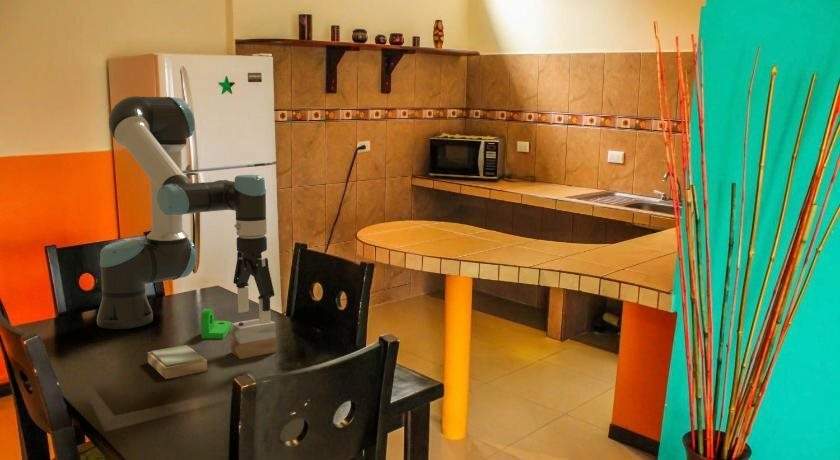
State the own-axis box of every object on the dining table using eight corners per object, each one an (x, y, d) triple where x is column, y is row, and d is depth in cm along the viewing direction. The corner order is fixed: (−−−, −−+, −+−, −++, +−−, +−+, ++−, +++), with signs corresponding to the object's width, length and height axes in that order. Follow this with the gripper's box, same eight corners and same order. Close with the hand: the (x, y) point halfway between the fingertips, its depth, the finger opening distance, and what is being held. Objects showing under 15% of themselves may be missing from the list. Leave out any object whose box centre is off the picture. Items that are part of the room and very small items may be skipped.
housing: (231, 352, 192) (230, 321, 191) (266, 346, 198) (266, 315, 197) (240, 359, 188) (239, 326, 186) (276, 352, 193) (276, 320, 192)
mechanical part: (223, 340, 203) (222, 312, 202) (201, 339, 203) (200, 311, 202) (234, 327, 215) (233, 300, 214) (213, 327, 215) (212, 300, 214)
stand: (147, 362, 184) (147, 350, 183) (187, 355, 190) (187, 343, 189) (165, 379, 173) (165, 366, 172) (207, 370, 179) (207, 358, 178)
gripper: (219, 231, 196) (222, 309, 199) (257, 243, 176) (260, 330, 179) (245, 229, 200) (248, 305, 203) (286, 241, 180) (288, 325, 183)
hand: (254, 317), depth 191 cm, fingers open, 13 cm apart
